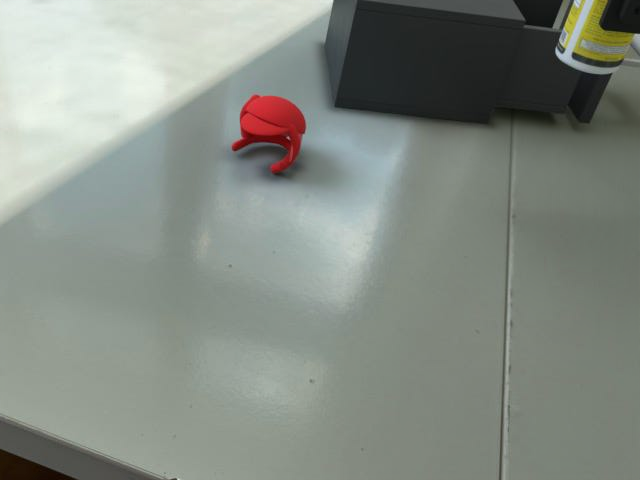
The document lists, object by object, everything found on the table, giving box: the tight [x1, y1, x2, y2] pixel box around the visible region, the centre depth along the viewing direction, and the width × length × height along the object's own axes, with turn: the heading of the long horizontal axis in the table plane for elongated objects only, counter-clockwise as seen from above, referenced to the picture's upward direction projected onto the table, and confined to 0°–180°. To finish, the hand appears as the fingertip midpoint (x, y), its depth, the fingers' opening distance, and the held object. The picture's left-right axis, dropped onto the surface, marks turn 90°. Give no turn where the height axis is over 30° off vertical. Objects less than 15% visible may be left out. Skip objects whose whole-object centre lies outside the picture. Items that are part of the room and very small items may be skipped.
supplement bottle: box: [556, 0, 635, 74], centre depth 55 cm, size 5×5×8 cm
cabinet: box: [324, 0, 526, 125], centre depth 80 cm, size 16×14×11 cm
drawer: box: [494, 0, 640, 125], centre depth 81 cm, size 21×13×9 cm, turn 90°
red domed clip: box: [231, 93, 307, 174], centre depth 67 cm, size 8×6×6 cm
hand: (607, 11), depth 56 cm, fingers closed on supplement bottle, 4 cm apart
